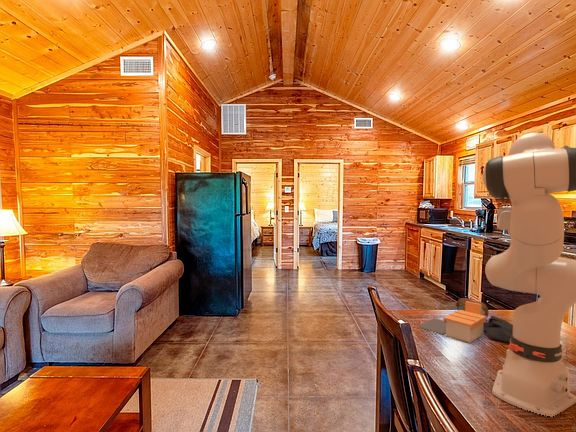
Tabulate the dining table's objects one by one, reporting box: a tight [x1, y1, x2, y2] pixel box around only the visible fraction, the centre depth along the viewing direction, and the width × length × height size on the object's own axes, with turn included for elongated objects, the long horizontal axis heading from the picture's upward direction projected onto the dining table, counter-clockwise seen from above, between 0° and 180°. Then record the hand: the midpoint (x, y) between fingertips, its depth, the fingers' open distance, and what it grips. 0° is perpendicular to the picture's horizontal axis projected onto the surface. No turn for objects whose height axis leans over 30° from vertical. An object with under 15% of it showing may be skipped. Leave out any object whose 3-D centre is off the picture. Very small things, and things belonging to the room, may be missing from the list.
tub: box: [445, 320, 484, 344], centre depth 131 cm, size 14×9×7 cm, turn 129°
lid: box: [442, 301, 487, 331], centre depth 131 cm, size 17×11×6 cm, turn 129°
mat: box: [419, 317, 446, 336], centre depth 141 cm, size 16×12×1 cm
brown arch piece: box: [456, 297, 489, 319], centre depth 153 cm, size 15×3×8 cm, turn 25°
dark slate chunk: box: [483, 315, 513, 344], centre depth 133 cm, size 15×22×5 cm
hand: (528, 242), depth 120 cm, fingers open, 8 cm apart
